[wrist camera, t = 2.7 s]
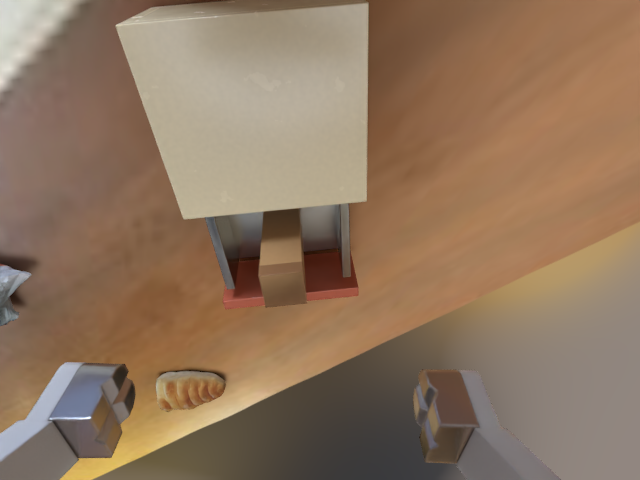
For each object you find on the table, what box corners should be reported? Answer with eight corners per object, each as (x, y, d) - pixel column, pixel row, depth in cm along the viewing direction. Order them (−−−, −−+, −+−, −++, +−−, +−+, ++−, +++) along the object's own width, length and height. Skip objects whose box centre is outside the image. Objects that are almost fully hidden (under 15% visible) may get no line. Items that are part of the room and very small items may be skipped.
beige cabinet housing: (353, 159, 36) (366, 201, 30) (200, 173, 36) (183, 219, 30) (350, -11, 28) (368, 2, 22) (151, 7, 28) (114, 25, 22)
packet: (263, 207, 37) (258, 275, 29) (298, 204, 37) (303, 271, 29) (269, 237, 39) (265, 307, 31) (302, 234, 39) (307, 303, 32)
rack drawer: (350, 266, 44) (358, 304, 39) (233, 278, 43) (227, 317, 39) (348, 156, 35) (357, 187, 31) (202, 170, 35) (190, 204, 30)
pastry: (219, 363, 55) (216, 388, 52) (231, 388, 59) (228, 413, 56) (154, 372, 55) (147, 397, 52) (171, 396, 59) (165, 421, 56)
